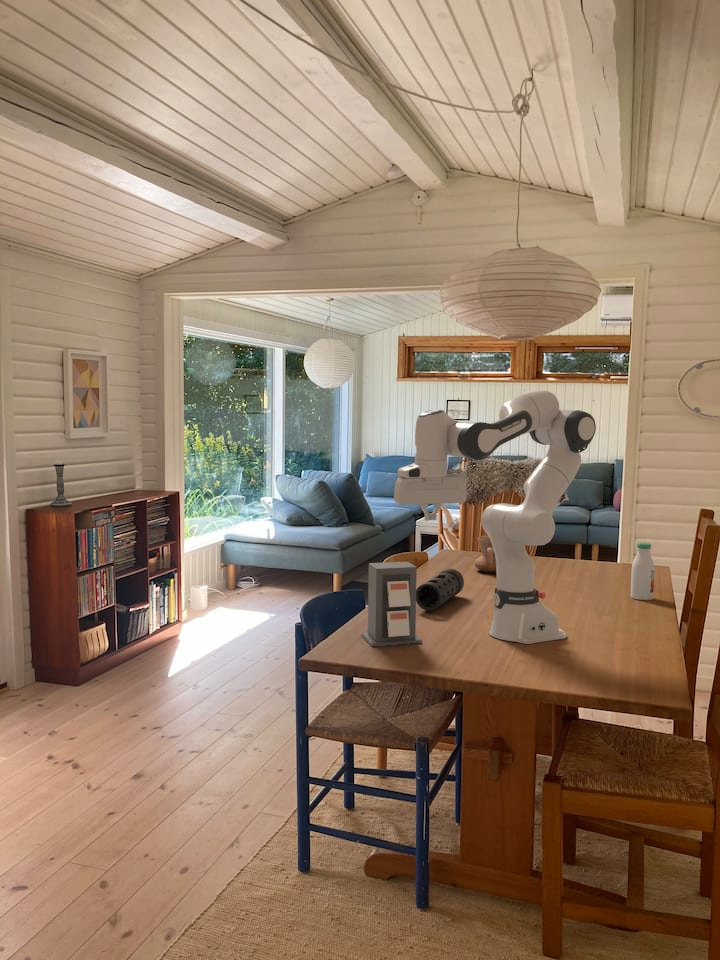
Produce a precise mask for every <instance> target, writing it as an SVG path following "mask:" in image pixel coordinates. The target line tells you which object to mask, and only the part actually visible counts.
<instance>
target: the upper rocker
mask: <svg viewBox="0 0 720 960" xmlns="http://www.w3.org/2000/svg"><path fill="white" fill-rule="evenodd" d="M387 590H388V593H387V596H388V601H389V607H402V606H411V604H410V592H409V583H408V581H394V582H387Z"/></svg>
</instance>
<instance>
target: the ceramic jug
mask: <svg viewBox="0 0 720 960" xmlns="http://www.w3.org/2000/svg"><path fill="white" fill-rule="evenodd" d="M477 541H478V545H479V549H480V551H481V554H482V555H480V556H479V557H477V558H476V559H475V561H474V566H475V568H476V569H477V570H479V571H482V572H485V573H490V574H492V573H493V574H494V573H495V574H496V557H495V553H494V549H493V546H492V543H491V540H490V538H489V536H488V535H481V536H479V537H477Z"/></svg>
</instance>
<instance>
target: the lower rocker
mask: <svg viewBox="0 0 720 960" xmlns="http://www.w3.org/2000/svg"><path fill="white" fill-rule="evenodd" d="M409 624H410V622H409V615H408V610H405V611H388V612H387V626H388V637H394V636H408V635H410V631H409Z"/></svg>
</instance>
